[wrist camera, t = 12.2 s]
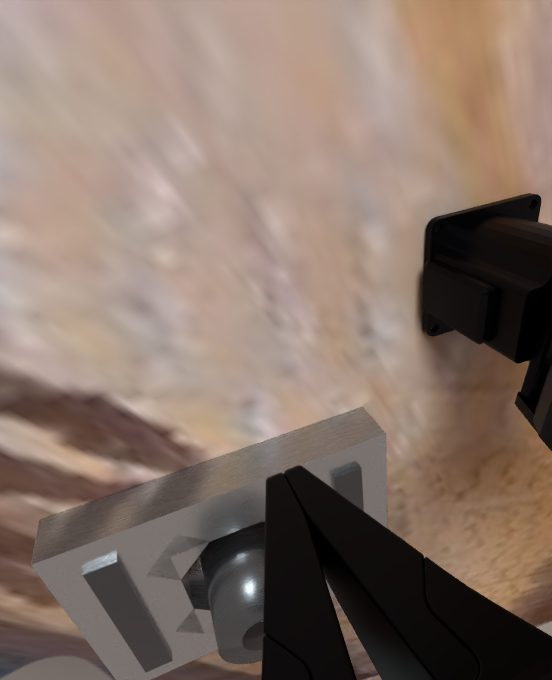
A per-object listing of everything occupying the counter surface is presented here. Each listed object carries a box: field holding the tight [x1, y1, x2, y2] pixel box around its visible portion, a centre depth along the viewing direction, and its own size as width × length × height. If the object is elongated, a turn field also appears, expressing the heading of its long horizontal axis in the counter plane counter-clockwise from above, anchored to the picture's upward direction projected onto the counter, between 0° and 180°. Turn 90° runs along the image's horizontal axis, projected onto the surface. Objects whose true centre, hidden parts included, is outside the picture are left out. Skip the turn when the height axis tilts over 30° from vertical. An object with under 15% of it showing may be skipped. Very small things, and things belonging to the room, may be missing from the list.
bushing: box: [199, 521, 265, 664], centre depth 24 cm, size 5×5×6 cm
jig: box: [31, 407, 387, 680], centre depth 25 cm, size 18×13×3 cm
